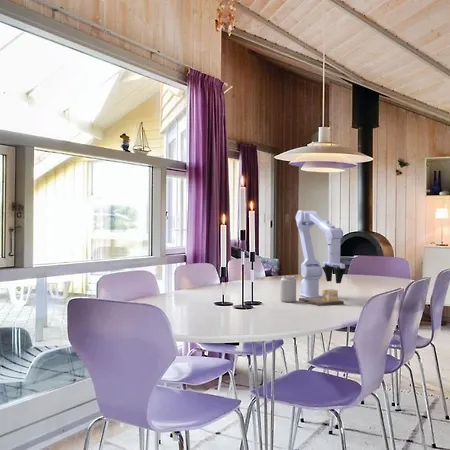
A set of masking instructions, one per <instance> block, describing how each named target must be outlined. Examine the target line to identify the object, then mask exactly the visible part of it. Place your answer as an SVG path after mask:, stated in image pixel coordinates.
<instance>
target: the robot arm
mask: <svg viewBox="0 0 450 450" xmlns="http://www.w3.org/2000/svg"><path fill="white" fill-rule="evenodd" d="M295 221H296V226H297V229H298V233H299V238H300V239H299V240H300V243H301V244H300V245H301V249H302V255H303V259H304V261H303V262H302V263H301V264H300V274H301V277H302V278H303V279H301V282H300V293H299V294H298V296H301V297H304V298H308V297H322V295H320V280H321V278H322V276H323V273H324V275H325V279H326V282H332V280H333V279H332V277H333V272H334V274H335V275H334V276H335V283H336V284H342V281H343V276H344V274H345V272H346V271H347V268H346V264H345V263H343V262H341V241H342V239H343V237H344V232H343V231H344V230H342V228H341V227H336V226H335V225H333V224H332V223H330V221H329V220H323V219H322V218H321V217H320V216H319V213H318V212H317V211H316V210H299V209H298V210H297V212H296V215H295ZM314 225H316V226H317V227H318V229H319V231H320V232H321V233H323V234H324V235H325V239H326V244H327V261H323V266H321V263H320V261H319V260H317V259H316V257H315V253H314V248H313V242H312V238H311V233H310V232H311V230H310V229H311V228H313V227H314Z"/></svg>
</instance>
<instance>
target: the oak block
mask: <svg viewBox="0 0 450 450" xmlns="http://www.w3.org/2000/svg"><path fill="white" fill-rule="evenodd" d="M338 292H339V290H338V289H333V288H326V289H324V288H323V289H322V295H321V296H322V300H324V301H328V302H333V301H338V300H339V297H338V296H339V293H338Z"/></svg>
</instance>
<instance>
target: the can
mask: <svg viewBox="0 0 450 450" xmlns="http://www.w3.org/2000/svg"><path fill="white" fill-rule="evenodd" d="M279 284H280V285H279V287H280V289H279V291H280V293H279V298H280V299H279V300H280V301H281V302H282V303H294V302H295V301H296V300H297V278H296V276H294V275H282V276H281V279H280V282H279Z"/></svg>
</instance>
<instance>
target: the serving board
mask: <svg viewBox="0 0 450 450" xmlns="http://www.w3.org/2000/svg"><path fill="white" fill-rule="evenodd" d="M298 301H299V302H303V303H306V304H310V305H313V306H319V307H320V306H321V305H322V306H331V305H332V306H334V305H344V304H345V303H344V300H340V299H338V301H333V302H328V301H324V300H322V297H299V298H298Z"/></svg>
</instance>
